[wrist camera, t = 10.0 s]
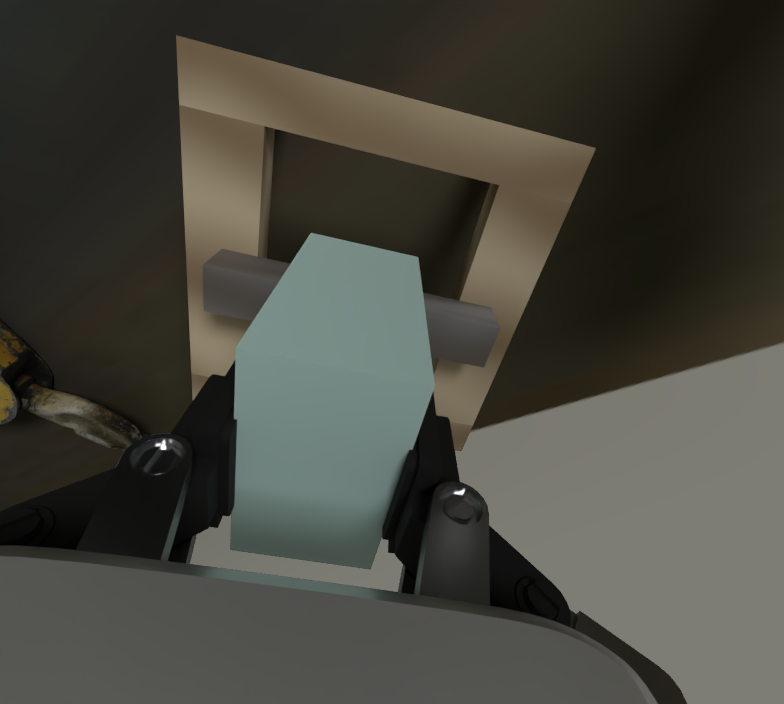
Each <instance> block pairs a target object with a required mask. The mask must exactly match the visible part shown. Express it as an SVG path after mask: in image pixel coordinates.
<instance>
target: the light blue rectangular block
mask: <svg viewBox="0 0 784 704" xmlns="http://www.w3.org/2000/svg"><path fill="white" fill-rule="evenodd" d="M434 387H435V382H434V374H433V367H432V359H431V351H430V344H429V336H428V328H427V320H426V313H425V305H424V297H423V290H422V282H421V274H420V267H419V259H418V257H416V256H411V255H407V254H402V253H398V252H394V251H389V250H385V249H380V248H376V247H371V246H367V245H363V244H358V243H354V242H349V241H345V240H341V239H336V238H332V237H327V236H323V235H318V234H314V233H311V234H310V235H309V237H308V238H307V240H306V241H305V243H304V244H303V246H302V247H301V249H300V250H299V252H298V253H297V255H296V256H295V258H294V259H293V261H292V263H291V264H290V266H289V267H288V269H287V270H286V272H285V273H284V275H283V276H282V278H281V279H280V281H279V282H278V284H277V285H276V287H275V288H274V290H273V291H272V293H271V295H270V296H269V298H268V299H267V301H266V302H265V304H264V305H263V307H262V308H261V310H260V311H259V313H258V314H257V316H256V317H255V319H254V320H253V322H252V323H251V325H250V327H249V328H248V330H247V331H246V333H245V334H244V336H243V337H242V339H241V340H240V342H239V343H238V345H237V346H236V357H235V395H234V419H237V439H236V470H235V501H234V507H233V510H232V512H231V544H230V549H231V550H236V551H243V552H250V553H257V554H264V555H271V556H279V557H285V558H293V559H300V560H307V561H314V562H321V563H329V564H335V565H343V566H350V567H357V568H364V569H371V566H372V563H373V561H374V558H375V555H376V552H377V549H378V546H379V543H380V541H381V538H382V527H383V525H384V522H385V519H386V516H387V513H388V510H389V507H390V504H391V501H392V499H393V496H394V493H395V490H396V487H397V484H398V481H399V478H400V475H401V472H402V470H403V467H404V464H405V461H406V458H407V455H408V452H409V450H413V447H414V444H415V441H416V438H417V436H418V433H419V430H420V427H421V424H422V421H423V418H424V416H425V413H426V410H427V407H428V404H429V401H430V399H431V396H432V393H433V390H434Z"/></svg>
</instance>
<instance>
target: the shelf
mask: <svg viewBox="0 0 784 704" xmlns="http://www.w3.org/2000/svg"><path fill="white" fill-rule="evenodd" d="M176 41H177V63H178V85H179V107H180V129H181V151H182V174H183V196H184V218H185V240H186V262H187V284H188V306H189V328H190V350H191V372H192V395H193V400H194V399H195V397H196V396H197V394H198V393H199V391H200V390H201V388H202V387H203V385H204V384H205V382H206V381H207V379H208V378H209V377H210V376H211V375H213V374H216V375H221V376H225V375H226V374H227V372H228V370H229V369H230V367H231V366H232V364H233V362H234V361H235V357H236V346H237V345H238V343H239V342H240V340H241V339H242V337H243V336H244V334H245V333H246V331H247V330H248V328H249V327H250V325H251V323H252V322H253V320H254V319H255V317H256V316H257V314H258V313H259V311H260V310H261V308H262V307H263V305H264V304H265V302H266V301H267V299H268V298H269V296H270V295H271V293H272V291H273V290H274V288H275V287H276V285H277V284H278V282H279V281H280V279H281V278H282V276H283V275H284V273H285V272H286V270H287V269H288V267H289V266H290V263H285V262H280V261H276V260H271V259H267V245H268V229H269V213H270V197H271V182H272V166H273V150H274V135H275V129H278V130H282V131H286V132H290V133H294V134H298V135H302V136H306V137H310V138H314V139H318V140H322V141H326V142H330V143H334V144H338V145H341V146H345V147H349V148H353V149H357V150H361V151H365V152H369V153H373V154H377V155H381V156H385V157H389V158H393V159H397V160H401V161H405V162H409V163H413V164H417V165H421V166H425V167H429V168H433V169H437V170H441V171H445V172H449V173H453V174H457V175H461V176H465V177H469V178H473V179H477V180H481V181H485V182H489V183H490V186H489V189H488V192H487V195H486V198H485V201H484V204H483V207H482V210H481V213H480V216H479V219H478V222H477V225H476V228H475V231H474V234H473V237H472V240H471V243H470V246H469V249H468V252H467V255H466V258H465V261H464V264H463V267H462V270H461V273H460V276H459V279H458V282H457V285H456V288H455V291H454V294H453V297H452V299H450V298H446V297H441V296H436V295H432V294H427V293H423V297H424V305H425V313H426V320H427V328H428V336H429V344H430V351H431V359H432V367H433V374H434V382H435V387H434V390H433V392H434V400H435V409H436V415H438V416H444V417H448V418H449V420H450V425H451V431H452V437H453V443H454V450H457V451H461V450H462V449H463V446H464V444H465V442H466V439H467V437H468V435H469V433H470V431H471V428H472V426H473V424H474V422H475V419H476V417H477V415H478V413H479V410H480V408H481V406H482V404H483V401H484V399H485V397H486V395H487V392H488V390H489V388H490V386H491V383H492V381H493V379H494V377H495V374H496V372H497V370H498V368H499V365H500V363H501V361H502V359H503V356H504V354H505V352H506V350H507V347H508V345H509V343H510V341H511V338H512V336H513V334H514V332H515V329H516V327H517V325H518V323H519V320H520V318H521V316H522V314H523V311H524V309H525V307H526V305H527V302H528V300H529V298H530V296H531V293H532V291H533V289H534V287H535V284H536V282H537V280H538V278H539V275H540V273H541V271H542V269H543V266H544V264H545V262H546V260H547V257H548V255H549V253H550V251H551V248H552V246H553V244H554V242H555V239H556V237H557V235H558V233H559V230H560V228H561V226H562V224H563V221H564V219H565V217H566V215H567V212H568V210H569V208H570V206H571V203H572V201H573V199H574V197H575V194H576V192H577V190H578V188H579V185H580V183H581V181H582V179H583V176H584V174H585V172H586V170H587V167H588V165H589V163H590V161H591V158H592V156H593V154H594V152H595V149H596V148H593V147H590V146H586V145H582V144H578V143H575V142H571V141H567V140H564V139H560V138H556V137H552V136H549V135H545V134H541V133H537V132H534V131H530V130H526V129H523V128H519V127H515V126H511V125H508V124H504V123H500V122H497V121H493V120H489V119H485V118H482V117H478V116H474V115H470V114H467V113H463V112H459V111H456V110H452V109H448V108H444V107H441V106H437V105H433V104H430V103H426V102H422V101H418V100H415V99H411V98H407V97H403V96H400V95H396V94H392V93H389V92H385V91H381V90H377V89H374V88H370V87H366V86H363V85H359V84H355V83H351V82H348V81H344V80H340V79H336V78H333V77H329V76H325V75H322V74H318V73H314V72H310V71H307V70H303V69H299V68H296V67H292V66H288V65H284V64H281V63H277V62H273V61H269V60H266V59H262V58H258V57H255V56H251V55H247V54H243V53H240V52H236V51H232V50H229V49H225V48H221V47H217V46H214V45H210V44H206V43H202V42H199V41H195V40H191V39H188V38H184V37H180V36H176Z"/></svg>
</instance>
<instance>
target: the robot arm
mask: <svg viewBox="0 0 784 704" xmlns="http://www.w3.org/2000/svg"><path fill="white" fill-rule="evenodd" d="M234 395H235V361H234V362H233V364H232V366H231V367H230V369H229V370H228V372H227V374H226V375H225V376H221V375H216V374H213V375H211V376H210V377H209V378H208V379H207V381H206V382H205V384H204V385H203V387H202V388H201V390H200V391H199V393H198V394H197V396H196V397H195V399H194V400H193V402H192V403H191V404H190V406H189V407H188V409H187V410H186V412H185V413H184V415H183V416H182V418H181V419H180V421H179V422H178V424H177V425H176V426H175V428H174V429H173V431H172V432H171V434H168V433H164V434H154V435H150V436H146V437H144V438H142V439H140V440H137V441H135V442H134V443H133V444H132V445H130V446H129V447H128V448H127V449H126V450H125V452H124V453H123V454H122V456H121V458H120V460H119V462H118V464H117V466H116V468H114V469H111V470H109V471H106V472H103V473H100V474H98V475H95V476H92V477H90V478H87V479H84V480H82V481H79V482H76V483H73V484H71V485H68V486H65V487H63V488H60V489H57V490H54V491H52V492H49V493H46V494H44V495H41V496H38V497H36V498H33V499H30V500H27V501H25V502H22V503H19V504H17V505H14V506H11V507H9V508H7V509H5V510H3V511H1V512H0V704H687V702H686V700H685V698H684V696H683V694H682V692H681V690H680V688H679V687H678V686H677V685H676V683H675V682H674V681H673V679H672V678H671V677H670V676H669V675H668V674H667V673H666V672H665V671H664V670H662V669H661V668H660V667H659V666H658V665H656V664H655V663H653V662H652V661H651V660H649V659H648V658H646V657H645V656H643V655H642V654H640V653H639V652H638V651H636V650H635V649H633V648H632V647H631V646H629V645H628V644H626V643H625V642H623V641H622V640H621V639H619V638H618V637H616V636H615V635H613V634H612V633H611V632H609V631H608V630H607V629H605V628H604V627H602V626H601V625H599V624H598V623H596V622H595V621H594V620H592V619H591V618H589V617H588V616H587V615H585V614H584V613H582V612H581V611H579V612H578V613H577V614H575V613H574V612H573V611H571V610H570V609H569V607H568V604H567V602H566V600H565V599H564V597H563V595H562V593H561V592H560V591H559V590H558V589H557V587H556V586H555V585H554V584H553V583H552V582H551V581H550V580H548V579H547V578H546V577H545V576H544V575H543V574H542V573H541V572H540V571H539V570H537V569H536V568H535V567H534V566H533V565H532V564H531V563H530V562H529V561H528V560H527V559H525V558H524V557H523V556H522V555H521V554H520V553H519V552H518V551H517V550H516V549H514V548H513V547H512V546H511V545H510V544H509V543H508V542H507V541H506V540H504V539H503V538H502V537H501V536H500V535H499V534H498V533H497V532H496V531H495V530H494V529H492V528H491V527H490V526H489V512H488V507H487V504H486V502H485V500H484V499H483V497H482V496H481V495H480V494H479V493H478V492H477V491H476V490H474V489H473V488H472V487H470V486H468V485H466V484H464V483H461V482H460V481H459V474H458V469H457V462H456V456H455V450H454V443H453V437H452V431H451V425H450V420H449V418H448V417H444V416H438V415H436V409H435V400H434V392H433V393H432V396H431V399H430V401H429V404H428V407H427V410H426V413H425V416H424V418H423V421H422V424H421V427H420V430H419V433H418V436H417V438H416V441H415V444H414V447H413V450H409V452H408V455H407V458H406V461H405V464H404V467H403V470H402V472H401V475H400V478H399V481H398V484H397V487H396V490H395V493H394V496H393V499H392V501H391V504H390V507H389V510H388V513H387V516H386V519H385V522H384V525H383V527H382V538H383V539H386V540H389V545H388V552H389V553H395V555H396V557H397V558H398V559H399V560H400V561H401V562H402V563H403V567H402V573H401V578H400V583H399V589H398V592H393V591H386V590H379V589H372V588H365V587H357V586H350V585H343V584H336V583H328V582H321V581H313V580H306V579H299V578H291V577H284V576H276V575H268V574H261V573H254V572H246V571H239V570H231V569H224V568H216V567H208V566H200V565H193V564H190V560H191V556H192V552H193V548H194V544H195V539H196V534H198V533H200V532H202V531H204V530H206V529H208V528H209V527H216V528H218V526H219V523H220V521H221V519H222V516H223V515H224V516H230V514H231V512H232V510H233V507H234V501H235V470H236V439H237V419H234Z"/></svg>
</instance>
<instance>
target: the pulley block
mask: <svg viewBox="0 0 784 704" xmlns="http://www.w3.org/2000/svg"><path fill="white" fill-rule="evenodd" d="M52 381H53V375H52V374H51V372H50V370H49V368H48V367H47V366H46V364H45V363H44V362H43V361H42V360H41V359H40V357H39V356H38V355H37V354H36V353H35V352H34V351H33V350H32V349H31V348H30V347H29V346H28V345H27V344H26V343H24V342H23V341H22V340H21V339H20V338H19V337H18V336H17V335H16V334H15V333H14V332H13V331H12V330H10V329H9V328H8V327H7V326H6V325H5V324H4V323H3V322H2V321H0V425H2V424H6V423H8V422H10V421H12V420H13V419H14V418H15V417H16V416H17V414H18V411H19V408H21V409H24V410H26V411H28V412H31V413H33V414H36V415H38V416H40V417H43V418H45V419H48V420H50V421H52V422H55V423H57V424H60V425H62V426H65V427H68V428H72V429H74V431H75V433H77V434H78V435H80V436H82V437H85V438H87V439H89V440H91V441H94V442H96V443H98V444H101V445H104V446H106V447H110V448H115V449H119V450H121V451H124V450H126V449H127V448H128V447H129V446H130V445H132V444H133V443H134V442H135V441H137V440H140V439H142V438H144V437H146V436H150V435H148V434H146V433H145V432H142V431H140V430H139V429H138V428H137V427H136V426H135V425H134V424H132V423H131V422H130V421H128V420H127V419H125V418H123V417H122V416H120V415H119V414H117V413H116V412H114V411H112V410H111V409H109V408H107V407H105V406H103V405H99V404H96V403H94V402H92V401H89V400H87V399H85V398H82V397H79V396H76V395H72V394H68V393H64V392H60V391H56V390H52Z"/></svg>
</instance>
